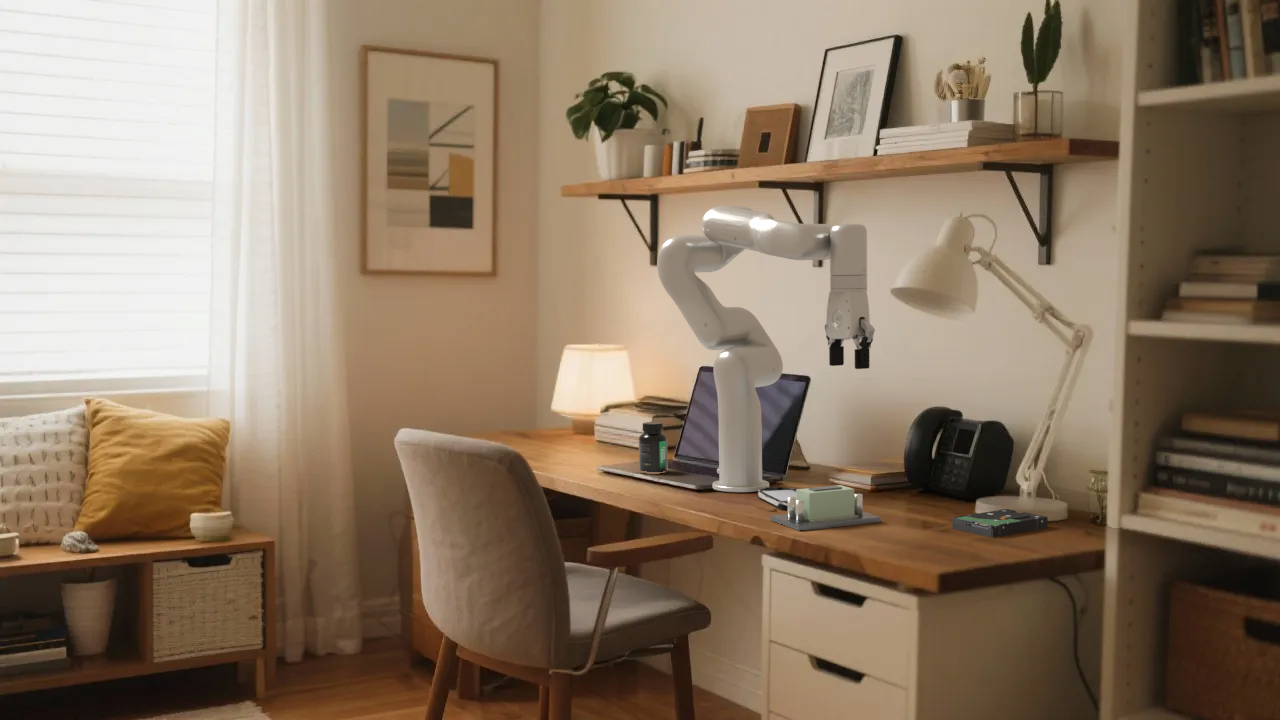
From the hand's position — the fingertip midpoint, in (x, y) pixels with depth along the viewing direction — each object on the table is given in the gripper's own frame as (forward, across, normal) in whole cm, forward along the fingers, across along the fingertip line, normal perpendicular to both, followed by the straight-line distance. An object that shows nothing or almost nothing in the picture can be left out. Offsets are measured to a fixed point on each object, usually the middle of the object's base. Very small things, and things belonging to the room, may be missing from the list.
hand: (849, 366), depth 276 cm
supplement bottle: (+28, -56, -20) cm, 66 cm away
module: (+27, +15, -15) cm, 34 cm away
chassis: (+28, +15, -15) cm, 35 cm away
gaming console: (+29, -6, -11) cm, 32 cm away
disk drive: (+29, +36, +10) cm, 47 cm away
